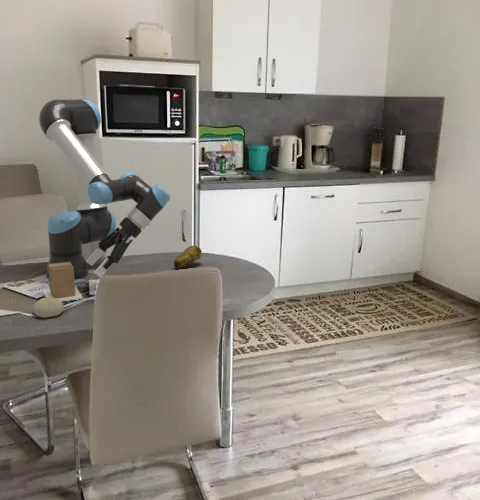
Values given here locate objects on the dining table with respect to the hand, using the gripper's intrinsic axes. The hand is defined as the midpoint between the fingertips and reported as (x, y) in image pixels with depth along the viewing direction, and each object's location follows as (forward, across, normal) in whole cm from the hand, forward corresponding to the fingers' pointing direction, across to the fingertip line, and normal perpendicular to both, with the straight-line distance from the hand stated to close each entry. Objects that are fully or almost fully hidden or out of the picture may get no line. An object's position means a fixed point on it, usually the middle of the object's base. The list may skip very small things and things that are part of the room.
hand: (92, 269), depth 193 cm
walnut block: (+13, 0, +2) cm, 13 cm away
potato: (-23, +18, -36) cm, 46 cm away
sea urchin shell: (+18, -13, +5) cm, 23 cm away
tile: (+14, 0, +1) cm, 14 cm away
